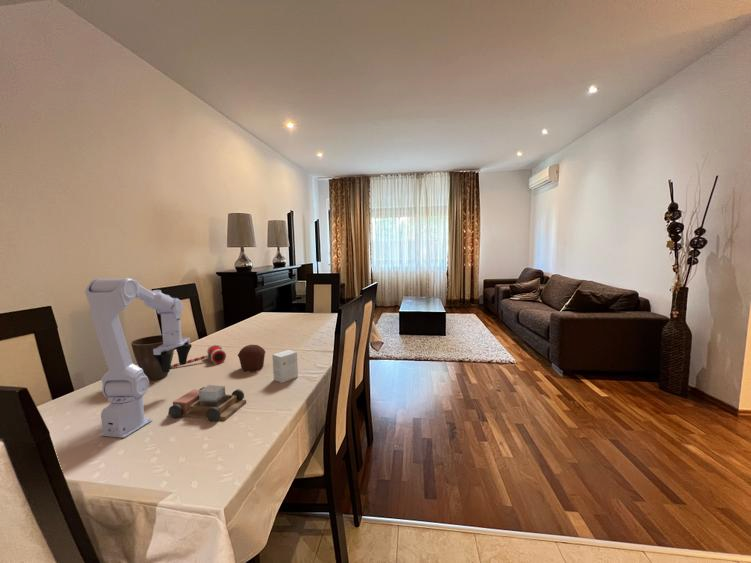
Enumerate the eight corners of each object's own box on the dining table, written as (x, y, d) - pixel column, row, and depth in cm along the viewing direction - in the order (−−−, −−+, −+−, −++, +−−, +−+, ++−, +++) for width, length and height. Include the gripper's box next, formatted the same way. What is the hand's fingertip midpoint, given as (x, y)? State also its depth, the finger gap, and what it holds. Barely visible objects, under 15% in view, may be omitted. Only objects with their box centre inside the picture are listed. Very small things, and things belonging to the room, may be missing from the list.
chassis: (222, 422, 95) (222, 409, 95) (165, 417, 99) (163, 405, 99) (248, 401, 109) (247, 389, 108) (196, 397, 112) (195, 386, 112)
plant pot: (161, 368, 141) (158, 333, 139) (186, 372, 136) (183, 336, 134) (125, 382, 127) (121, 342, 125) (152, 386, 122) (148, 346, 120)
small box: (290, 373, 133) (289, 349, 132) (298, 377, 129) (297, 351, 128) (273, 380, 127) (271, 354, 126) (281, 383, 123) (280, 357, 122)
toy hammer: (169, 373, 136) (167, 359, 135) (167, 366, 145) (166, 352, 145) (226, 362, 149) (226, 349, 149) (221, 355, 159) (221, 343, 158)
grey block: (217, 410, 101) (215, 392, 100) (200, 409, 102) (198, 391, 101) (226, 403, 105) (224, 386, 105) (209, 402, 106) (208, 385, 106)
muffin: (272, 365, 142) (270, 344, 141) (252, 374, 133) (250, 351, 132) (253, 361, 148) (252, 340, 147) (232, 370, 138) (231, 347, 137)
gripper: (164, 337, 106) (168, 376, 107) (196, 326, 120) (198, 361, 122) (146, 336, 107) (150, 375, 109) (180, 326, 122) (182, 360, 123)
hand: (174, 368), depth 115 cm, fingers open, 7 cm apart
